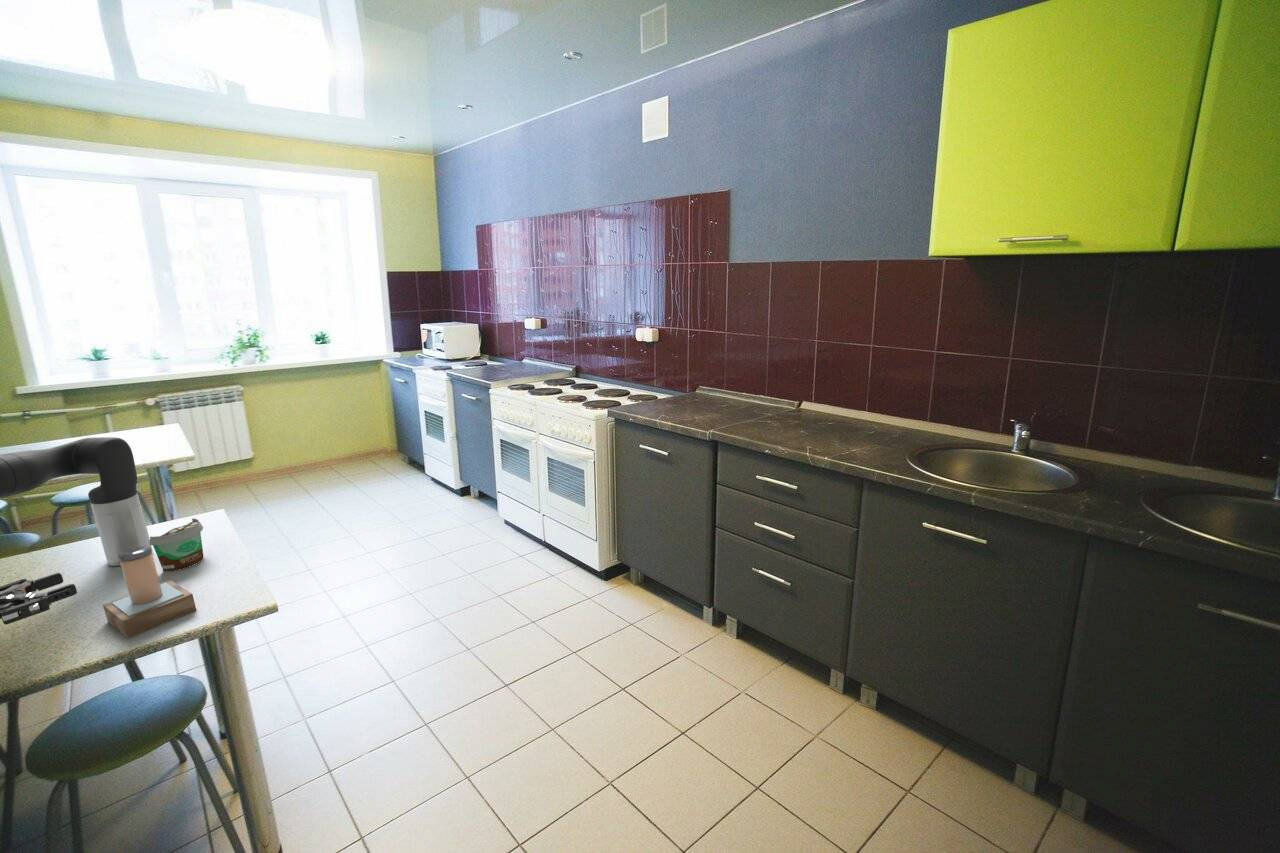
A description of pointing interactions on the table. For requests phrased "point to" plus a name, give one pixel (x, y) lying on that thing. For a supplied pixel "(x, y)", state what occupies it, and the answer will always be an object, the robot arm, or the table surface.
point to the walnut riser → (149, 610)
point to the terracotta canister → (140, 575)
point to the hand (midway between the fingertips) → (68, 582)
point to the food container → (179, 546)
